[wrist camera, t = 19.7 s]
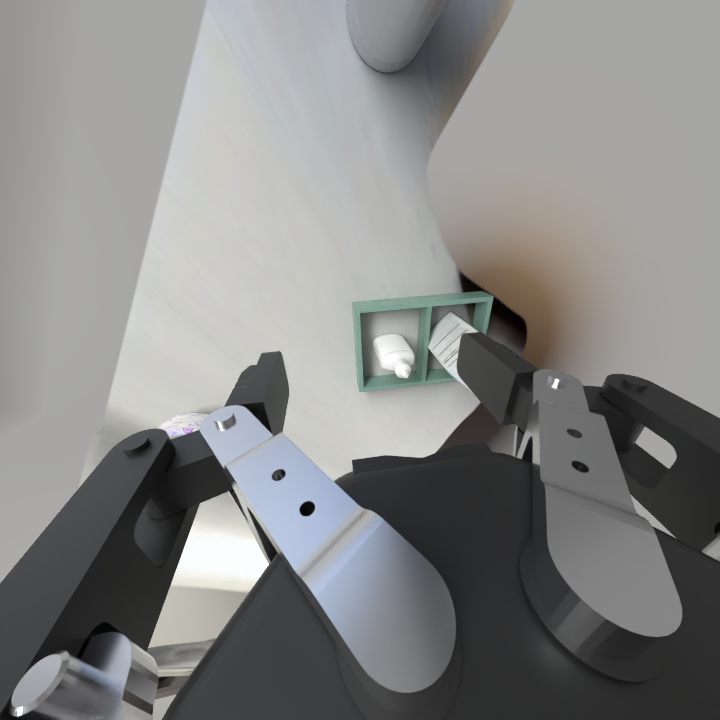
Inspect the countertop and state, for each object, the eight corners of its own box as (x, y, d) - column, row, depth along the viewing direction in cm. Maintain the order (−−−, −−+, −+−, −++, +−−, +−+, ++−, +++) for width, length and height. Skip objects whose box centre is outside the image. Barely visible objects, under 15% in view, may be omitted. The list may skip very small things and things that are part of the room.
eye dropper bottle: (379, 326, 47) (396, 357, 36) (406, 336, 49) (429, 369, 38) (369, 347, 49) (382, 382, 38) (395, 356, 50) (415, 393, 40)
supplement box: (473, 333, 50) (516, 366, 39) (444, 360, 52) (477, 399, 41) (450, 309, 47) (489, 337, 36) (419, 339, 49) (448, 374, 38)
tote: (352, 302, 44) (354, 308, 41) (482, 291, 46) (493, 296, 43) (357, 381, 52) (359, 392, 49) (468, 369, 54) (477, 378, 51)
